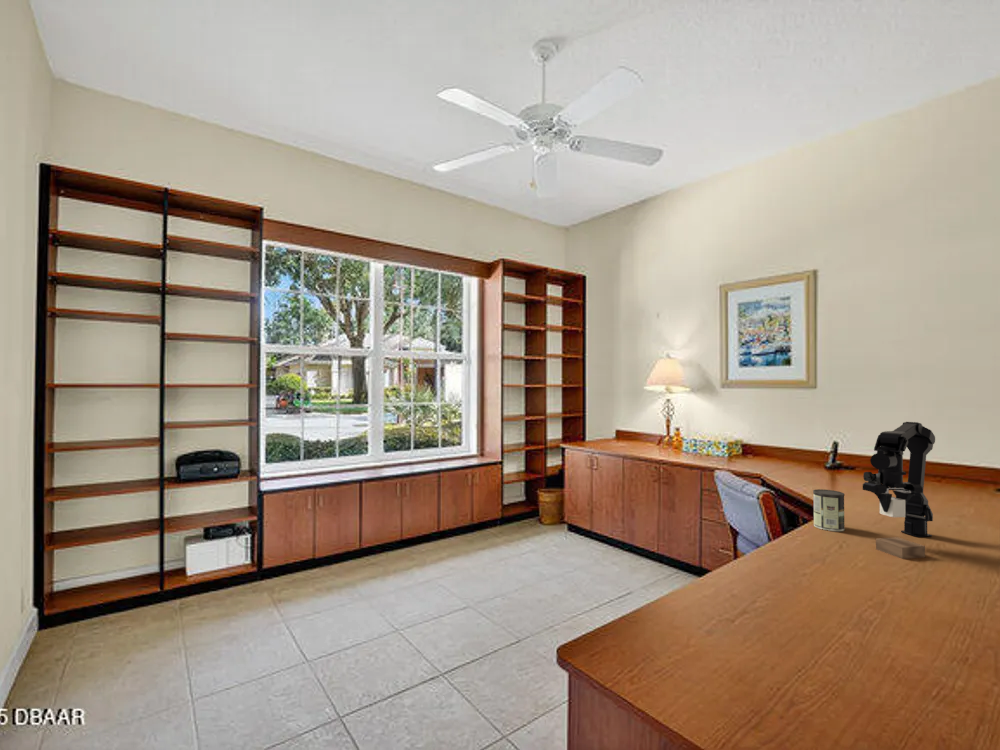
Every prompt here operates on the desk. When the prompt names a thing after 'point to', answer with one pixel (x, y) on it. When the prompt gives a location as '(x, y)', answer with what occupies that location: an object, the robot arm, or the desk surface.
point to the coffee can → (829, 510)
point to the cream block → (895, 508)
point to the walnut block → (900, 547)
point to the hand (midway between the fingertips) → (892, 511)
